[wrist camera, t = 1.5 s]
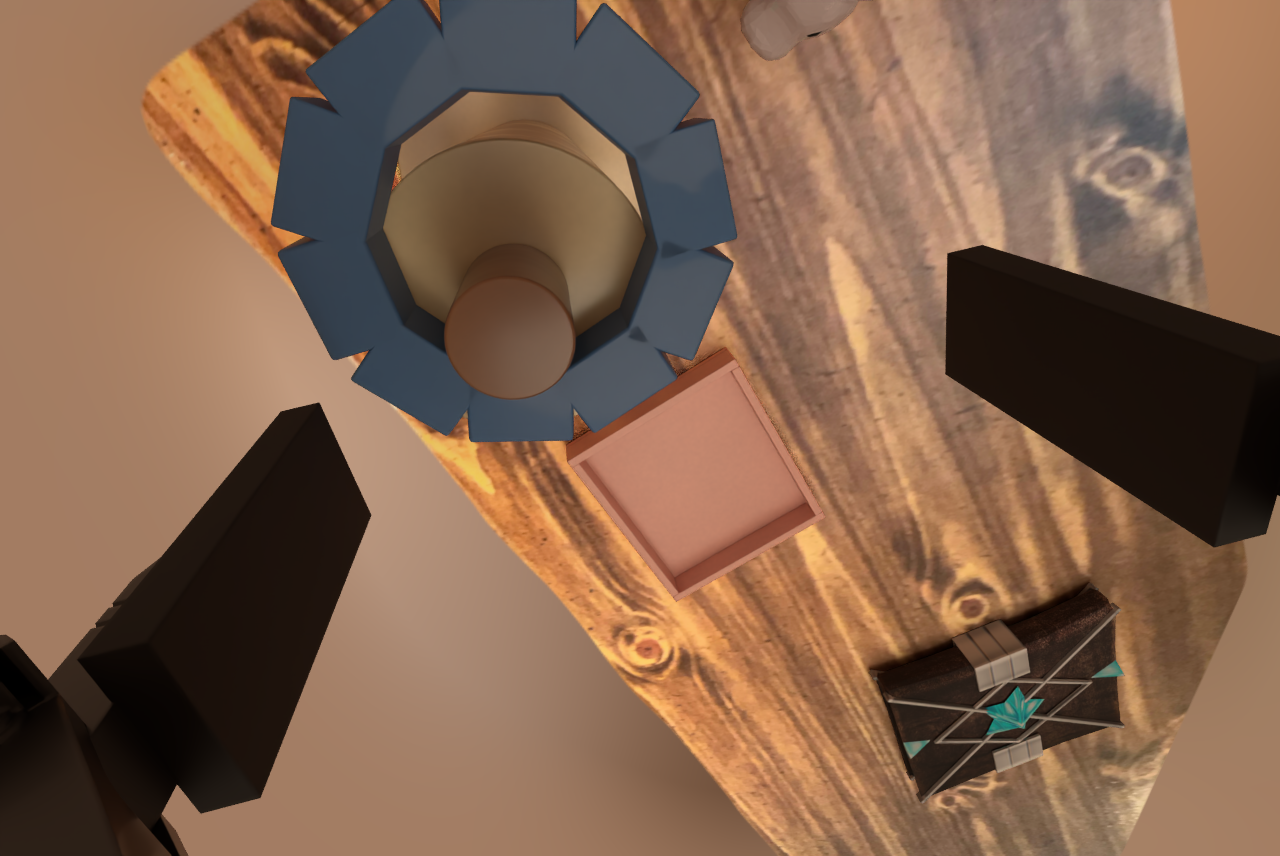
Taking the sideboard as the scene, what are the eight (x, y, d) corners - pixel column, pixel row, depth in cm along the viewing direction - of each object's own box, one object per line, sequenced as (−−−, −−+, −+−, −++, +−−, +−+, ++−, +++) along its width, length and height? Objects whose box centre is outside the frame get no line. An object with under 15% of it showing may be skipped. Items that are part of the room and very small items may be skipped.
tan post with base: (430, 309, 42) (247, 650, 16) (383, 55, 36) (-48, -86, 9) (649, 292, 43) (820, 578, 17) (640, 46, 37) (886, -101, 11)
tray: (565, 445, 47) (567, 461, 45) (725, 346, 46) (735, 358, 44) (670, 581, 54) (676, 602, 52) (813, 499, 52) (826, 517, 50)
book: (1090, 579, 60) (1134, 617, 56) (1100, 697, 68) (1140, 738, 64) (867, 668, 61) (892, 712, 57) (901, 774, 69) (926, 820, 65)
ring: (273, 356, 16) (245, 384, 15) (350, -99, 13) (323, -130, 11) (631, 454, 19) (640, 487, 17) (778, 97, 15) (806, 96, 14)
